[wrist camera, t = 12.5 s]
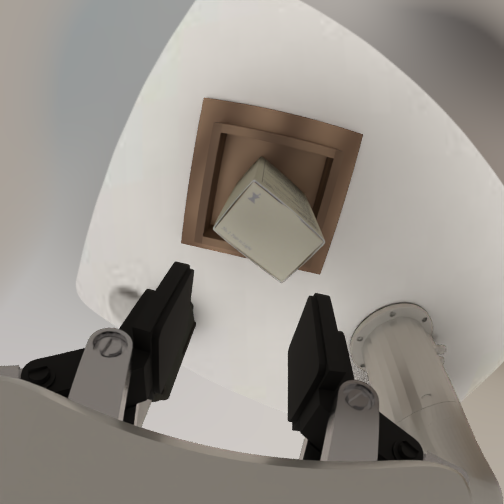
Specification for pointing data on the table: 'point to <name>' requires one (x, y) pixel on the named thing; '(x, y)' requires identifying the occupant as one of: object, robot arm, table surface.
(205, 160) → the tray
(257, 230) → the skincare box
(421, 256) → the table surface
